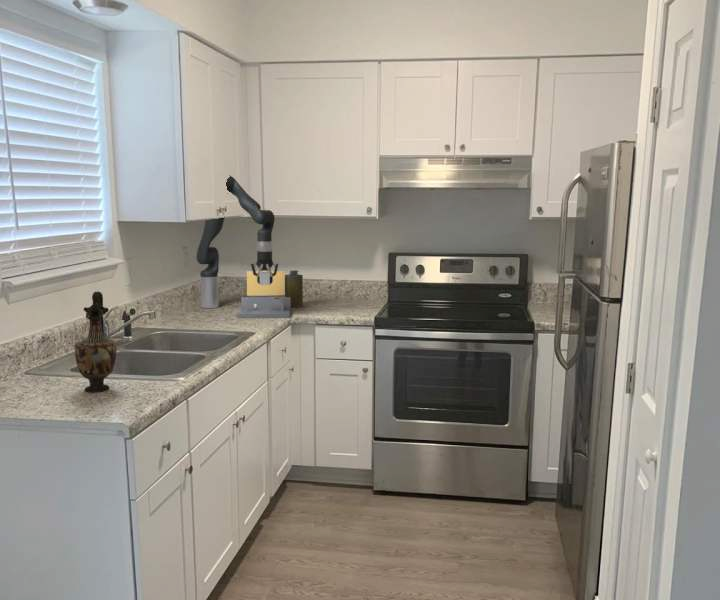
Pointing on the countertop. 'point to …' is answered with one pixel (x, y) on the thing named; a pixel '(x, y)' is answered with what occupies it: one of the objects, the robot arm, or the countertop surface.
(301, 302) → the canister
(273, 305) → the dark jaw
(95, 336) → the vase
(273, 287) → the lid
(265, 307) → the housing base
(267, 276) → the silver jaw
